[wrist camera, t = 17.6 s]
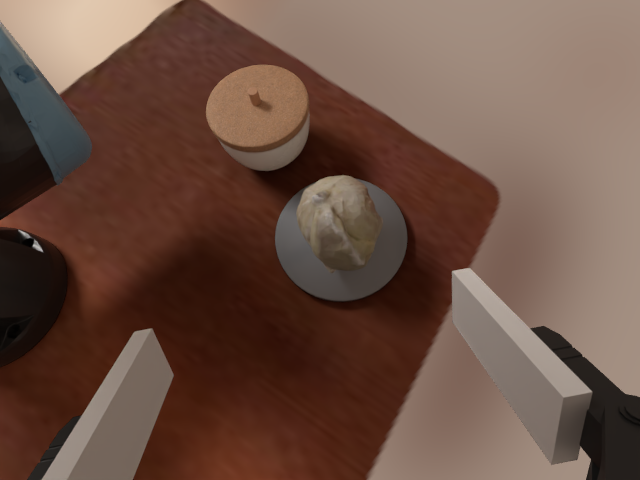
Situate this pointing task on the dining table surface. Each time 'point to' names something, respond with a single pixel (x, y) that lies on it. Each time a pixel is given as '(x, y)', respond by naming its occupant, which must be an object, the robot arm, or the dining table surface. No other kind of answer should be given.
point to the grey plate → (342, 283)
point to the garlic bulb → (339, 222)
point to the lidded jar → (260, 116)
